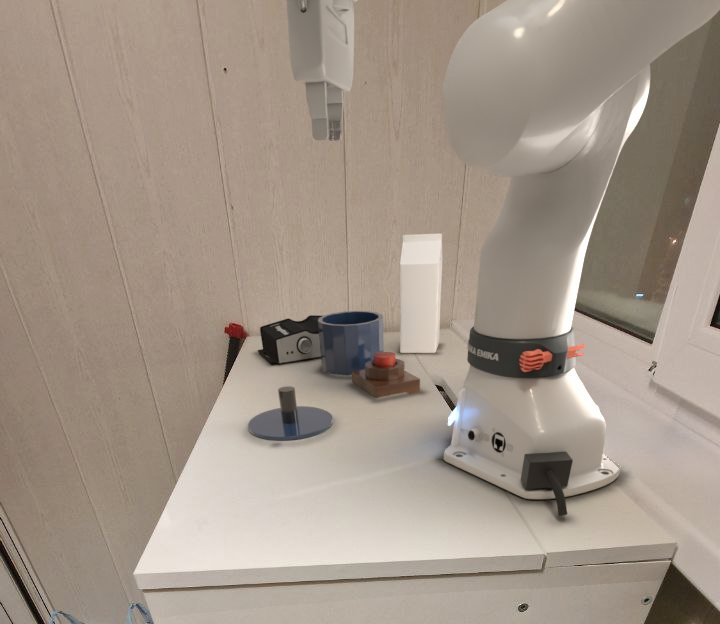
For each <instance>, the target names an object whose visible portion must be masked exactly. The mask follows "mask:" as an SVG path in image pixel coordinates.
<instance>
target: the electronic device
mask: <svg viewBox="0 0 720 624" xmlns="http://www.w3.org/2000/svg"><path fill="white" fill-rule="evenodd" d="M322 316H323V315H317V314H316V315H313V314H312V315H311V314H309V315H308V316H307V317H306V318H304V319H302V320H293V319H291V318H285V319H282V320H278V321H275V322H272V323H269V324H265V325H261V326H260V327H259V332H260V333H259V334H260V340H261V345H262V349H257V352H258V353H259V354H260V355H261V357H263V358H264V359H266V361H268V362H269V363H270V364H271V365H273V364H278V365H286V364H293V363H298V362H304V361H309V360H316V359H321V351H320V339H319V328H318V319H319V318H320V317H322Z"/></svg>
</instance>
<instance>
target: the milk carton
mask: <svg viewBox="0 0 720 624" xmlns="http://www.w3.org/2000/svg"><path fill="white" fill-rule="evenodd" d="M443 258H444V257H443V233H419V234H418V233H417V234H416V233H415V234H402V245H401V253H400V259H399V260H400V261H399V352H400V354H435V353H436V352H437V350H438V346H439V344H440V329H441V328H440V327H441V303H442V280H443V279H442V278H443Z"/></svg>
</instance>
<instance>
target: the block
mask: <svg viewBox="0 0 720 624" xmlns="http://www.w3.org/2000/svg"><path fill="white" fill-rule="evenodd" d="M405 364H406V363H405V361H404V360H402V359H399V358H396V365H395V366H391V367H375V366H374V360H371V361H369V362H366V364H365V369H364V370H359V371H353V372H352V375H351V379H352V380H351V381H352V383H353V384H355V385H356V386H357V387H359V388H361V389H362V390H364V391H366V392H367V393H368V394H370V395H372V396H373V397H375V398H382V397H388V396H394V395H397V394H402V393H406V394H408V395H412V394H418V393H421V389H420V388H421V378H420V377H417V376H416V375H414V374H412V373H410V372H408V371H406V370H405V366H406V365H405Z"/></svg>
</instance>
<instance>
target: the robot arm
mask: <svg viewBox="0 0 720 624" xmlns="http://www.w3.org/2000/svg"><path fill="white" fill-rule="evenodd" d="M358 1H359V0H286V14H287V31H288V45H289V48H288V49H289V59H290V67H291V72H292V75H293V79H294V81H296V82H298V83H301V84H303V85H305V96H306V97H305V98H306V102H307V108H308V110H309V116H310V120H311V133H312V138H313V139H314V140H315V141H327V140H328V141H331V142H336V141H338V142H339V141H342V139H343V138H344V131H343V127H344V126H343V120H344V108H345V99H344V93H350V92H351V90H352V87H353V81H354V67H355V66H354V60H355V5H354V3H357V2H358ZM719 11H720V0H505V1H503V2H501V3H500V4H499V5H497V6H496V7H494V8H493V9H491V10H489V11H487V12H486V13H485V14H483V15H481V16H479V17H478V18H477V19H475V21H473V22H472V23H471V24H470V25H469V26H468V27H467V29H466V30H465V31H464V32H463V34H462V35H461V36H460V38H459V40H458V42H457V43H456V45H455V47H454V49H453V51H452V53H451V56H450V59H449V61H448V64H447V67H446V71H445V75H444V79H443V85H442V91H441V92H442V93H441V116H442V124H443V129H444V133H445V136H446V139H447V142H448V145H449V146H450V149H451V150H452V152H453V154H454V155H455V156H456V157H457V158H458V159H459V160H460V161H461V162H462V163H463V164H465V165H466V166H468V167H471V168H473V169H476V170H479V171H480V172H482V173H483V172H484V173H486V174H489V175H492V176H495V177H499V178H510V181H509V184H508V188H507V191H506V194H505V198H504V201H503V203H502V207H501V209H500V211H499V214H498V217H497V219H496V221H495V223H494V225H493V227H492V229H491V230H490V232H488V234H487V236H486V238H485V239H484V241H483V243H482V246H481V248H480V252H479V255H478V267H477V279H476V280H477V281H476V291H475V292H476V293H475V304H474V305H475V306H474V317H473V320H474V321H473V326H472V327H471V328H470V330H469V334H468V335H469V337H468V340H467V346H466V347H467V357H466V360H467V363H468V364H469V368H468V371H467V374H466V377H465V379H464V381H463V383H462V385H461V387H460V389H459V391H458V395H457V401H456V407H455V408H454V409H453V410H452V411H451V413H450V415H449V416H448V417H447V418H448V419H447V421H448V422H447V426H451V425H452V424H453V429H452V435H451V442H450V444H449V446H447V447H446V448H445V449H444V452H443V457H442V460H443V461H444V462H446V463H447V464H450V465H452V466H455V467H457V468H458V469H460V470H463V471H465V472H467V473H469V474H471V475H472V476H473V475H474V476H475V477H478V478H480V479H481V480H484V481H486V482H489V483H490V484H493V485H494V486H497V487H499V488H501V489H502V490H506V491H507V492H509V493H512V494H514V495H516V496H519V497H521V498H523V499H527V500H551V499H553V500H554V499H555V502H556V508H557V515H558V517H563V516H567V515H568V510H567V502H566V498H567V497H572V496H576V495H580V494H584V493H588V492H591V491H594V490H597V489H600V488H602V487H605V486H607V485H609V484H611V483H612V482H614V481H615V480H617V478H618V477H619V476H620V474H621V466H620V469H619V468H618V467H617V466H616V465H615V464H614V463H613V462H612V461H610V460H609V458H610V457H609V458H607V456H608V455H606V454H605V453H604V449H605V444H606V442H605V441H606V431H607V430H606V429H607V427H606V420H605V418H604V416H603V415H602V413H601V412H600V410H601V409H600V407H599V405H598V404H596V403H595V401H594V400H593V399H592V397H591V395H590V393H589V391H588V390H587V389H586V387H585V385H584V383H583V381H582V380H581V379H580V376H579V375H578V373H577V371H576V369H575V367H576V366H577V358H578V357H582V356H584V355H585V353H584V352H577V351H581V350H583V349H584V348H586V347H587V346H586V344H578V345H576V338H575V337H576V336H575V329H574V328H573V326H572V325H573V319H574V313H575V308H576V304H577V297H578V293H579V287H580V283H581V277H582V271H583V266H584V261H585V257H586V252H587V248H588V244H589V241H590V239H591V238H590V237H591V234H592V231H593V228H594V225H595V222H596V219H597V216H598V213H599V211H600V208H601V205H602V202H603V199H604V197H605V194H606V191H607V188H608V186H609V183H610V180H611V177H612V175H613V173H614V169H615V167H616V164H617V162H618V159H619V156H620V154H621V152H622V149H623V148H624V145H625V143H626V142H627V140H628V138H629V137H630V135H631V134H632V133H633V131H634V130H635V128H636V126H637V125H638V123H639V121H640V119H641V117H642V115H643V112H644V111H645V108H646V105H647V101H648V97H649V95H650V93H649V92H650V86H651V64H652V63H653V62H654V61H655V60H656V59H658V58H660V57H661V56H662V55H663V54H664V53H665V52H666V51H668V50H669V49H670V48H672V47H673V46H674V45H676V44H677V43H678V42H681V40H683V39H684V38H685V37H687V36H689V35H690V34H692V33H694V32H695V31H697V30H698V29H700V28H701V27H702V26H704V25H705V24H707V23H708V22H709V21H710V20H712V18H713V17H715V15H716V14H718V12H719ZM605 455H606V456H605Z"/></svg>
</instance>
